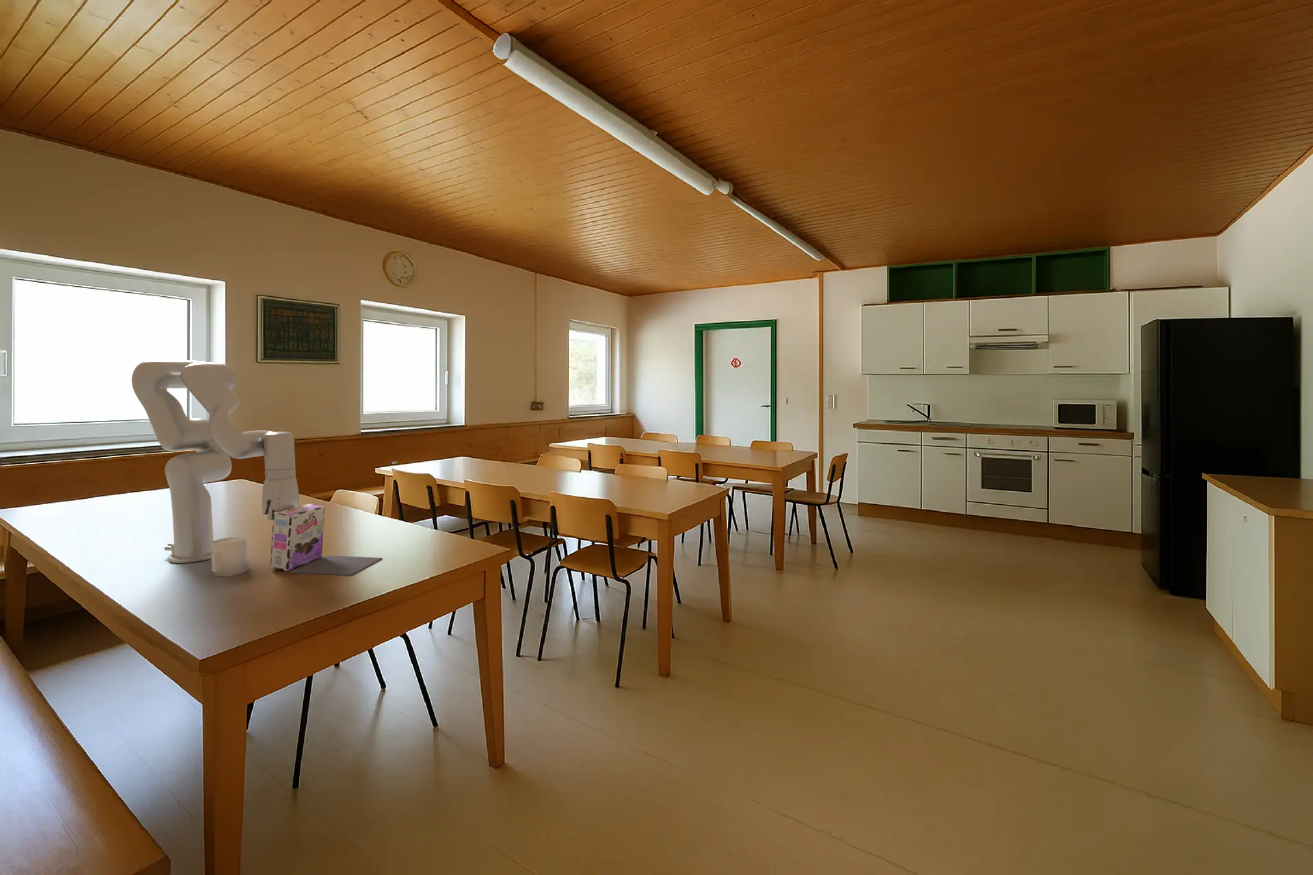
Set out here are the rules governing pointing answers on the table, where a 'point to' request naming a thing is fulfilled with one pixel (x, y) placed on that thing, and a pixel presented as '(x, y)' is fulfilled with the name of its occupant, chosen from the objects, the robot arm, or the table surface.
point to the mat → (337, 565)
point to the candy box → (297, 536)
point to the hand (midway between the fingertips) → (283, 535)
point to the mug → (229, 556)
